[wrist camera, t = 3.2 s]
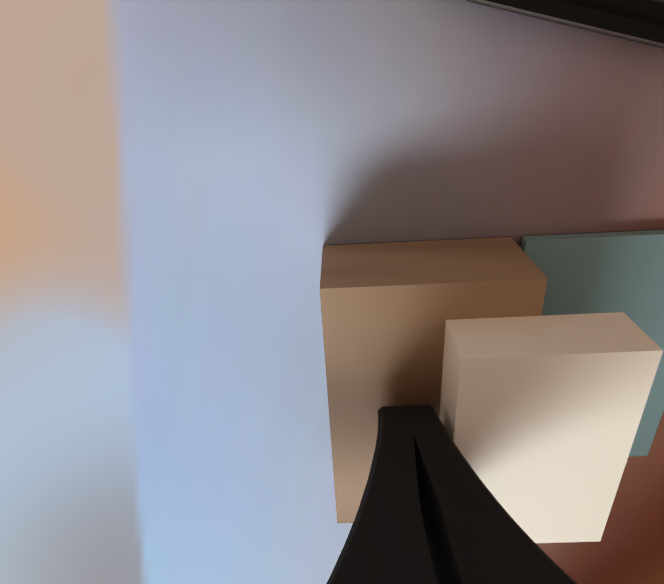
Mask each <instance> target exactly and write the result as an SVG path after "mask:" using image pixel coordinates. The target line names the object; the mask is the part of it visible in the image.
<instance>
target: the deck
mask: <svg viewBox="0 0 664 584" xmlns="http://www.w3.org/2000/svg"><path fill="white" fill-rule="evenodd" d="M547 281H548V279H547V277H546V276H545V275H544V274H543V273H542V272H541V271H540V269H539V268H538V267H537V266H536V265H535V264H534V263H533V261H532V260H531V259H530V258H529V257H528V256H527V255H526V253H525V252H524V251H523V250H522V249H521V248H520V247H519V245H518V244H517V243H516V242H515V241H514V240H513V239H512V237H496V238H474V239H453V240H431V241H410V242H388V243H367V244H345V245H324V246H323V252H322V266H321V280H320V297H321V310H322V323H323V337H324V350H325V363H326V377H327V390H328V404H329V417H330V430H331V444H332V457H333V470H334V484H335V497H336V510H337V523H353V522H354V520H355V517H356V514H357V511H358V509H359V506H360V502H361V499H362V496H363V493H364V490H365V486H366V483H367V480H368V477H369V473H370V468H371V464H372V460H373V456H374V451H375V446H376V440H377V433H378V410H379V409H380V408H381V407H382V406H409V405H431V406H432V407H433V408H434V409H435V411H436V413H437V415H438V417H439V415H440V400H441V384H442V369H443V354H444V339H445V323H446V320H453V319H476V318H499V317H522V316H541V314H542V309H543V303H544V297H545V292H546V286H547Z"/></svg>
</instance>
